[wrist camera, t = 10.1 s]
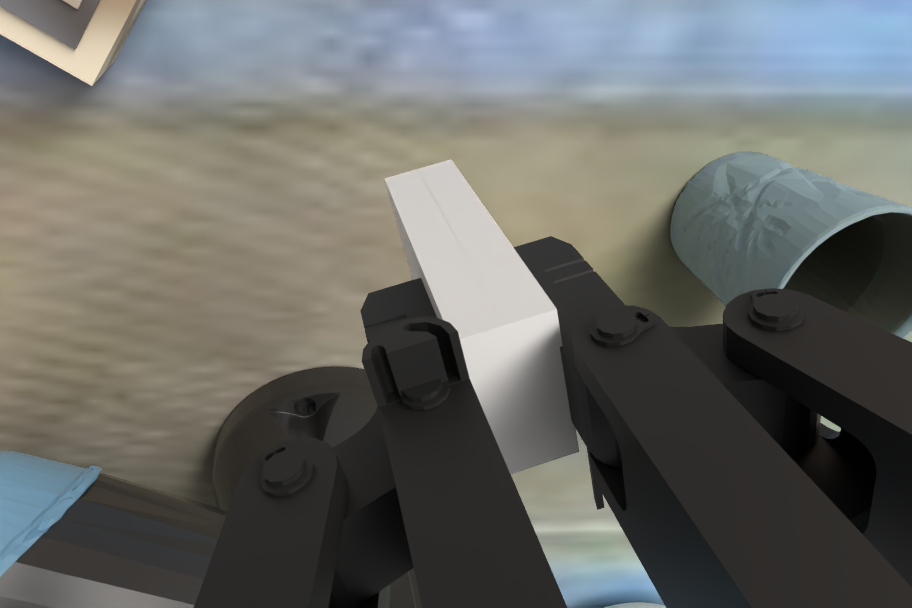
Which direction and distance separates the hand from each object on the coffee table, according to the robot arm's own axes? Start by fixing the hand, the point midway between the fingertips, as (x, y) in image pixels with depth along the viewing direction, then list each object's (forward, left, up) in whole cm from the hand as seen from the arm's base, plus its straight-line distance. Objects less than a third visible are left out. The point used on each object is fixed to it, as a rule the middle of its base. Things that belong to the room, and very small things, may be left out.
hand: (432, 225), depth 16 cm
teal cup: (+5, -26, -24) cm, 36 cm away
